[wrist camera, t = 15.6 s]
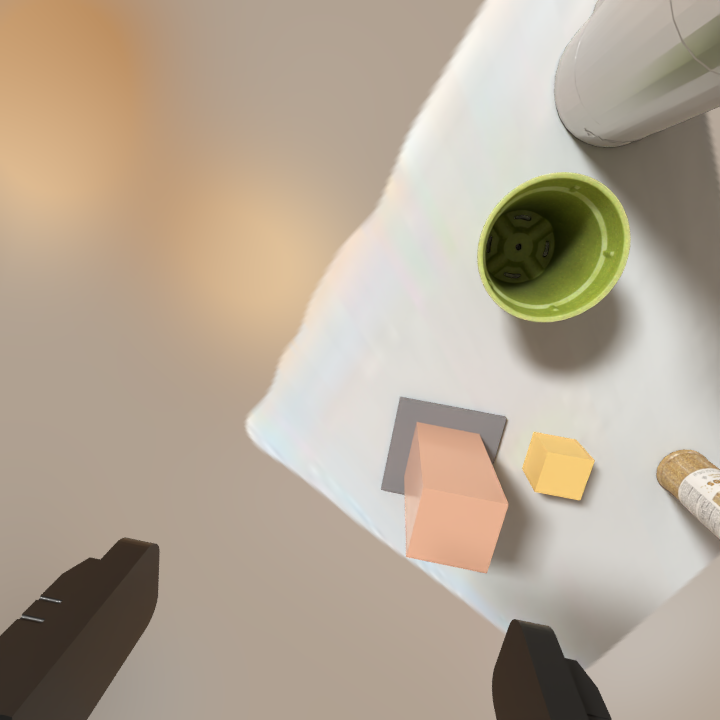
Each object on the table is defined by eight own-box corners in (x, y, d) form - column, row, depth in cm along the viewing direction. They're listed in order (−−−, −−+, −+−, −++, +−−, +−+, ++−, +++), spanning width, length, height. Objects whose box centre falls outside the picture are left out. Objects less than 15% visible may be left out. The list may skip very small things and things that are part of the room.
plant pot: (563, 307, 36) (613, 327, 28) (453, 300, 37) (470, 318, 29) (585, 191, 34) (646, 175, 25) (466, 186, 34) (488, 169, 26)
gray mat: (400, 396, 40) (400, 398, 39) (505, 416, 39) (506, 418, 39) (381, 487, 43) (381, 489, 42) (479, 506, 42) (479, 509, 42)
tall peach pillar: (416, 421, 40) (423, 487, 29) (479, 433, 40) (508, 504, 29) (404, 476, 42) (406, 556, 31) (464, 488, 41) (486, 573, 31)
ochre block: (533, 431, 40) (547, 451, 36) (575, 439, 40) (594, 460, 36) (521, 468, 41) (534, 491, 37) (563, 476, 41) (580, 500, 37)
